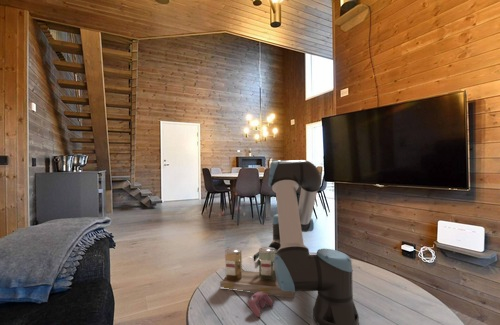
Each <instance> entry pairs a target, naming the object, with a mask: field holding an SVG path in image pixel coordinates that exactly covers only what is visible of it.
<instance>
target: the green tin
mask: <svg viewBox="0 0 500 325" xmlns="http://www.w3.org/2000/svg"><path fill="white" fill-rule="evenodd" d="M258 252H259V266H258V272H259V278H260V279H261V280H263V281H273V280H275V279H276V274H275V271H274V270H273V263H274V256H276V250H275V248H272V247H269V246H263V247H262V246H261V247H259V249H258Z"/></svg>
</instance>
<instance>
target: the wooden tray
mask: <svg viewBox="0 0 500 325" xmlns="http://www.w3.org/2000/svg"><path fill="white" fill-rule="evenodd" d="M219 287H224V288H229V289H237V290H243V291H250V292H255V293H257V292H261V291H264V292H265V293H266V294H267V295H268V296H277V297H286V298H294V297H295V292H292V291H283V290H281V289H280V288H279V286H278V283H277V279H275V280H273V281H263V280H261V279H260V278H259V271H253V270H252V271H251V270H250V271H249V270H242V278H241V279H240V280H237V281H229V280H227V279H226V276H225V277H224V279H222V280H221V281H219ZM255 293H254V294H255Z"/></svg>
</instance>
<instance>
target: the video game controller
mask: <svg viewBox="0 0 500 325" xmlns="http://www.w3.org/2000/svg"><path fill="white" fill-rule="evenodd" d="M266 304H267V305H268V306H269V307H272V308H273V307H274V302H273V300H272V299H271V297H270V295H267V294H266V293H265V292H264V291H261V292H257V293H253V294H252V295H251V297H250V298H249V299H248V302H247V305H248V307H249V308H250V309H251V311H252V313H253V314H254V315H255V317H257V318H261V316H262V315H261V311H260V309H261V308H265V306H266Z"/></svg>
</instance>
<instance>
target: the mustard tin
mask: <svg viewBox="0 0 500 325" xmlns="http://www.w3.org/2000/svg"><path fill="white" fill-rule="evenodd" d="M224 253H225V254H224V256H225V257H224V258H225V260H224V261H225V277H226V279H227V280H229V281H237V280H240V279H241V278H242V271H243V266H242V263H243V262H242V259H243V258H242V249H241V248H239V247H238V248H237V247H231V248H230V247H229V248H226V249H225V252H224Z"/></svg>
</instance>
